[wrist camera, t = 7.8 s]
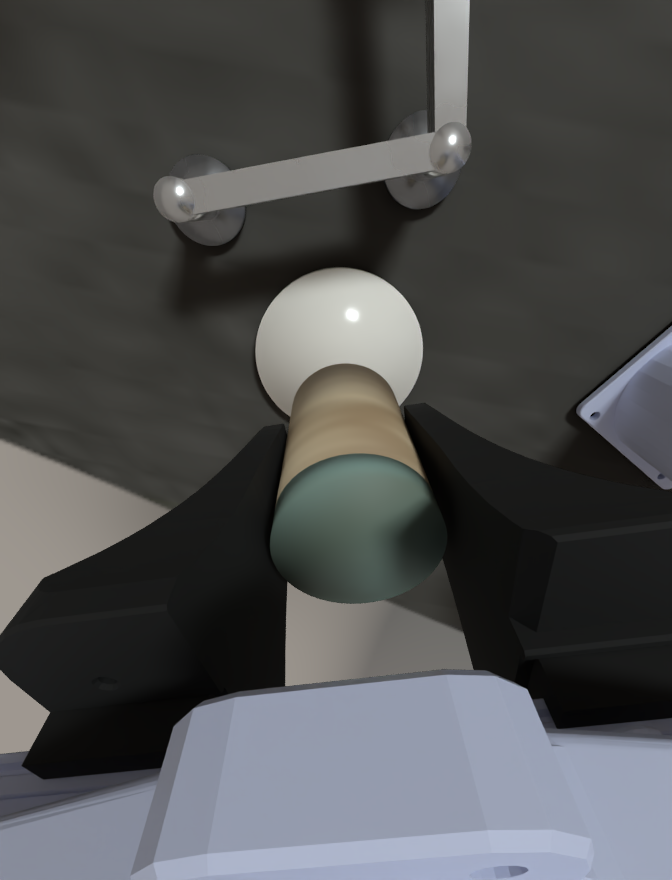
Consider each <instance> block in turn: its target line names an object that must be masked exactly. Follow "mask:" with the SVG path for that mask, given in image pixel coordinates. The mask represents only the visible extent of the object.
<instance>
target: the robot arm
mask: <svg viewBox="0 0 672 880" xmlns="http://www.w3.org/2000/svg"><path fill="white" fill-rule="evenodd" d="M594 412H595V414H594V415H593V416H591V414H592V413H594ZM576 413H577V414H578V415H579V416H580V417H581V418H582V419H583V420H584V421H585V422H587V423H588V424H589V425H590V426H591V427H592V428H593V429H595V430H596V431H597V432H598V433H599V434H600V435H601V436H603V437H604V438H605V439H606V440H607V441H608V442H609V443H611V444H612V445H613V446H614V447H615V448H616V449H617V450H619V451H620V452H621V453H622V454H623V455H624V456H625V457H627V458H628V459H629V460H630V461H631V462H632V463H633V464H635V465H636V466H637V467H638V468H639V469H640V470H641V471H643V472H644V473H645V474H646V475H647V476H648V477H649V478H651V479H652V480H653V481H654V482H655V483H656V484H657V485H659V486H660V487H661V488H662V489H671V488H672V326H671V327H670V328H668V329H667V330H666V331H665V332H664V333H663V334H661V335H660V336H659V337H658V338H657V339H656V340H654V341H653V342H652V343H651V344H650V345H648V346H647V347H646V348H645V349H644V350H643V351H641V352H640V353H639V354H638V355H637V356H636V357H634V358H633V359H632V360H631V361H630V362H629V363H627V364H626V365H625V366H624V367H623V368H621V369H620V370H619V371H618V372H617V373H616V374H614V375H613V376H612V377H611V378H610V379H609V380H607V381H606V382H605V383H604V384H603V385H601V386H600V387H599V388H598V389H597V390H596V391H594V392H593V393H592V394H591V395H590V396H589V397H587V398H586V399H585V400H584V401H583V402H581V403H580V404H579V406H578V407H577V409H576ZM404 414H405V423H406V425H407V428H408V430H409V433H410V435H411V438H412V440H413V443H414V446H415V448H416V451H417V453H418V456H419V458H420V461H421V463H422V466H423V468H424V471H425V473H426V476H427V478H428V481H429V484H430V486H431V489H432V491H433V494H434V496H435V499H436V501H437V504H438V506H439V509H440V511H441V514H442V516H443V519H444V522H445V525H446V530H447V545H446V549H445V552H444V555H443V557H442V558H443V561H444V564H445V568H446V571H447V575H448V578H449V582H450V585H451V588H452V592H453V595H454V599H455V603H456V606H457V610H458V613H459V617H460V620H461V624H462V628H463V631H464V635H465V639H466V643H467V647H468V650H469V654H470V658H471V661H472V665H473V669H474V670H448V669H442V670H432V671H424V672H414V673H405V674H396V675H386V676H378V677H369V678H360V679H349V680H340V681H332V682H322V683H313V684H303V685H294V686H285V639H286V601H287V580H286V579H285V578H284V577H283V576H282V575H281V574H280V573H279V571H278V570H277V568H276V566H275V564H274V562H273V560H272V556H271V552H270V536H271V530H272V524H273V518H274V512H275V506H276V501H277V495H278V489H279V483H280V477H281V471H282V465H283V459H284V453H285V447H286V441H287V434H286V430H285V426H284V424H279V425H272V426H266V427H263V428H262V429H261V430H260V431H259V432H258V433H257V434H256V435H255V436H254V437H253V438H252V440H251V441H250V442H249V443H248V444H247V445H246V446H245V447H244V448H243V449H242V450H241V451H240V452H239V453H238V454H237V455H236V456H235V457H234V458H233V459H232V460H231V461H230V462H229V463H228V464H227V465H226V466H225V467H224V468H223V469H222V470H221V471H220V472H219V473H218V474H217V475H216V476H214V477H213V478H212V479H211V480H210V481H209V482H208V483H207V484H206V485H204V486H203V487H202V488H201V489H199V490H198V491H197V492H196V493H194V494H193V495H192V496H190V497H189V498H188V499H187V500H185V501H184V502H183V503H181V504H180V505H178V506H177V507H175V508H174V509H172V510H171V511H169V512H168V513H166V514H165V515H163V516H162V517H160V518H159V519H157V520H156V521H154V522H153V523H151V524H150V525H148V526H146V527H145V528H143V529H141V530H139V531H138V532H136V533H134V534H133V535H131V536H129V537H127V538H125V539H124V540H122V541H120V542H118V543H116V544H114V545H112V546H110V547H109V548H107V549H105V550H103V551H101V552H99V553H97V554H95V555H93V556H90V557H89V558H86V559H84V560H82V561H80V562H78V563H75V564H73V565H71V566H69V567H67V568H65V569H63V570H60V571H58V572H56V573H54V574H52V575H49V576H47V577H45V578H43V579H42V581H41V582H40V583H39V584H38V586H37V587H36V588H35V590H34V591H33V592H32V594H31V595H30V596H29V598H28V599H27V600H26V602H25V603H24V604H23V606H22V607H21V608H20V610H19V611H18V612H17V614H16V615H15V616H14V617H13V619H12V620H11V621H10V623H9V624H8V625H7V627H6V628H5V629H4V631H3V632H2V633H1V635H0V670H1V671H2V672H3V673H4V674H5V675H6V676H7V677H8V678H9V679H10V680H11V681H12V682H13V683H15V684H16V685H17V686H19V687H20V688H21V689H22V690H23V691H25V692H26V693H27V694H28V695H30V696H31V697H32V698H33V699H34V700H36V701H37V702H38V703H39V704H41V705H42V706H43V707H45V708H46V709H47V710H48V711H49V712H50V714H49V716H48V718H47V720H46V721H45V723H44V725H43V727H42V729H41V731H40V732H39V734H38V736H37V738H36V740H35V742H34V743H33V745H32V747H31V749H30V751H26V752H16V753H6V754H0V880H672V492H668V491H662V490H656V489H650V488H644V487H638V486H633V485H627V484H621V483H616V482H612V481H608V480H603V479H599V478H595V477H590V476H586V475H582V474H578V473H575V472H571V471H567V470H564V469H560V468H557V467H554V466H551V465H548V464H545V463H541V462H538V461H535V460H533V459H530V458H527V457H524V456H522V455H519V454H517V453H515V452H512V451H510V450H507V449H505V448H502V447H500V446H498V445H496V444H494V443H492V442H490V441H488V440H486V439H484V438H482V437H480V436H478V435H476V434H474V433H473V432H471V431H469V430H467V429H466V428H464V427H462V426H460V425H459V424H457V423H456V422H454V421H452V420H451V419H449V418H448V417H446V416H444V415H443V414H441V413H440V412H438V411H437V410H435V409H434V408H432V407H431V406H429V405H428V404H426V403H420V404H413V405H407V406H404ZM590 416H591V417H590Z"/></svg>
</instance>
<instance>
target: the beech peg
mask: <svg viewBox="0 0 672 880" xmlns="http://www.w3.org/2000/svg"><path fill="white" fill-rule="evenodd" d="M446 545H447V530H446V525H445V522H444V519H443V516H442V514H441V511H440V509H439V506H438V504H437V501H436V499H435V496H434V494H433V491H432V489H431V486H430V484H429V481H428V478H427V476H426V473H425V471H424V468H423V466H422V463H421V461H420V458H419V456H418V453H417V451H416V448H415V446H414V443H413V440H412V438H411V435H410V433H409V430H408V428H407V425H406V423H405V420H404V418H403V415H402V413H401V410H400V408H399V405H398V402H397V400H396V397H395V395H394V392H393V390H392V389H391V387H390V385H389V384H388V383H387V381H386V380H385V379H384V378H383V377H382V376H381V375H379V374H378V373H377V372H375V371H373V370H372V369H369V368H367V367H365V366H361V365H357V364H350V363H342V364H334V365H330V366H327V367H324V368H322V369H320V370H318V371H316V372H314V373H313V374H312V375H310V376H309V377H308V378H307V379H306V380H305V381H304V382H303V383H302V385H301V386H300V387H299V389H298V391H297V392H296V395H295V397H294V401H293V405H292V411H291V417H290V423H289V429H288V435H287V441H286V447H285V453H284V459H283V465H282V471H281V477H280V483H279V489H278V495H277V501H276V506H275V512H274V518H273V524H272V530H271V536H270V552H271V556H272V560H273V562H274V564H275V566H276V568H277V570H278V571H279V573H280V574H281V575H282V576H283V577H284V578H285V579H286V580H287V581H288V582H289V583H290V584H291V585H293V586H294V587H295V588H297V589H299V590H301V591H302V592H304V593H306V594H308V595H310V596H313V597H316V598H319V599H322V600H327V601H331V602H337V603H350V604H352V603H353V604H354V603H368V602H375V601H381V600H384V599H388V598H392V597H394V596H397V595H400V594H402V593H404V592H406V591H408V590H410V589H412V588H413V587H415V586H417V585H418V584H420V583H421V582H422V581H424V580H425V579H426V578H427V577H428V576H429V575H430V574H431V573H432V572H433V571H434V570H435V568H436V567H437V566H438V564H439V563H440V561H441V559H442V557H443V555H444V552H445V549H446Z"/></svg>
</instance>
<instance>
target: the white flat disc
mask: <svg viewBox="0 0 672 880" xmlns="http://www.w3.org/2000/svg"><path fill="white" fill-rule="evenodd" d="M255 354H256V364H257V369H258V373H259V376H260V379H261V382H262V384H263V386H264V388H265V390H266V392H267V393H268V395H269V396H270V398H271V399H272V400H273V401H274V403H275V404H276V405H277V406H278V407H279V408H280V409H281V410H282V411H283V412H285V413H286V414H287V415H288V416H290V417H291V411H292V405H293V401H294V397H295V395H296V392H297V391H298V389H299V387H300V386H301V385H302V383H303V382H304V381H305V380H306V379H307V378H308V377H309V376H310V375H312V374H313V373H314V372H316V371H318V370H320V369H322V368H324V367H327V366H330V365H334V364H342V363H350V364H357V365H361V366H365V367H367V368H369V369H372V370H373V371H375V372H377V373H378V374H379V375H381V376H382V377H383V378H384V379H385V380H386V381H387V383H388V384H389V385H390V387H391V389H392V390H393V392H394V395H395V397H396V400H397V402H398V405H399V406H400V405H401V404H402V402H403V401H404V400H405V399H406V397H407V396H408V395H409V393H410V391H411V390H412V388H413V387H414V384H415V382H416V380H417V378H418V375H419V371H420V368H421V363H422V357H423V343H422V334H421V330H420V326H419V323H418V321H417V318H416V316H415V314H414V312H413V310H412V308H411V307H410V305H409V304H408V302H407V301H406V300H405V298H404V297H403V296H402V295H401V294H400V293H399V292H398V291H397V290H396V289H395V288H394V287H393V286H392V285H391V284H389V283H388V282H386V281H385V280H384V279H382V278H380V277H378V276H376V275H374V274H372V273H370V272H367V271H364V270H361V269H356V268H350V267H331V268H324V269H320V270H315V271H312V272H310V273H308V274H305V275H303V276H301V277H299V278H298V279H296V280H294V281H293V282H291V283H290V284H289V285H287V286H286V287H285V288H284V289H283V290H282V291H281V292H280V293H279V294H278V295H277V296H276V297H275V299H274V300H273V301H272V303H271V304H270V306H269V307H268V309H267V311H266V313H265V315H264V316H263V318H262V321H261V324H260V326H259V329H258V334H257V339H256V349H255Z"/></svg>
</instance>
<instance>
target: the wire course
mask: <svg viewBox="0 0 672 880" xmlns="http://www.w3.org/2000/svg"><path fill="white" fill-rule="evenodd" d="M469 4H470V0H425V11H426V72H427V110H422V111H418V112H415V113H413V114H411V115H409V116H408V117H406V118H405V119H404V120H403V121H402V122H401V123H400V124H399V125H398V126H397V127H396V128H395V129H394V131H393V132H392V134H391V135H390V137H389V139H388V141H385V142H379V143H374V144H369V145H364V146H358V147H353V148H348V149H343V150H337V151H332V152H327V153H321V154H316V155H311V156H306V157H300V158H295V159H290V160H284V161H279V162H274V163H269V164H263V165H258V166H253V167H248V168H242V169H237V170H232V171H231V170H230V169H229V168H228V167H227V166H226V165H225V164H223V163H222V162H220V161H219V160H217V159H215V158H213V157H210V156H207V155H200V154H195V155H190V156H187V157H185V158H182V159H181V160H180V161H178V162H177V163H176V164H175V165H174V167H173V168H172V170H171V172H170V174H169V176H165V177H163V178H161V179H159V180H158V181H157V183H156V185H155V187H154V192H153V196H154V202H155V205H156V207H157V209H158V210H159V212H160V213H161V214H162V215H163V216H164V217H165V218H166V219H168V220H170V221H172V222H175V223H176V225H177V226H178V227H179V229H180V230H181V231H182V232H183V233H184V234H185V235H186V236H188V237H189V238H190V239H192V240H193V241H195V242H197V243H200V244H203V245H208V246H217V245H221V244H225V243H227V242H229V241H231V240H232V239H234V238H235V237H236V236H237V235H238V233H239V232H240V230H241V229H242V227H243V224H244V221H245V217H246V206H249V205H254V204H260V203H265V202H271V201H276V200H282V199H287V198H292V197H298V196H303V195H309V194H314V193H320V192H325V191H331V190H336V189H342V188H347V187H352V186H358V185H363V184H369V183H374V182H380V181H384V183H385V186H386V188H387V190H388V192H389V194H390V195H391V197H392V198H393V199H394V200H395V201H396V202H397V203H399V204H400V205H402V206H404V207H406V208H410V209H425V208H429V207H431V206H434V205H435V204H437V203H439V202H440V201H441V200H443V199H444V198H445V197H446V196H447V195H448V194H449V192H450V191H451V190H452V188H453V187H454V185H455V183H456V181H457V179H458V177H459V174H460V171H461V167H462V166H463V165H464V164H465V162H466V161H467V159H468V157H469V155H470V151H471V136H470V133H469V131H468V129H467V128H466V116H467V79H468V41H469Z"/></svg>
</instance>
